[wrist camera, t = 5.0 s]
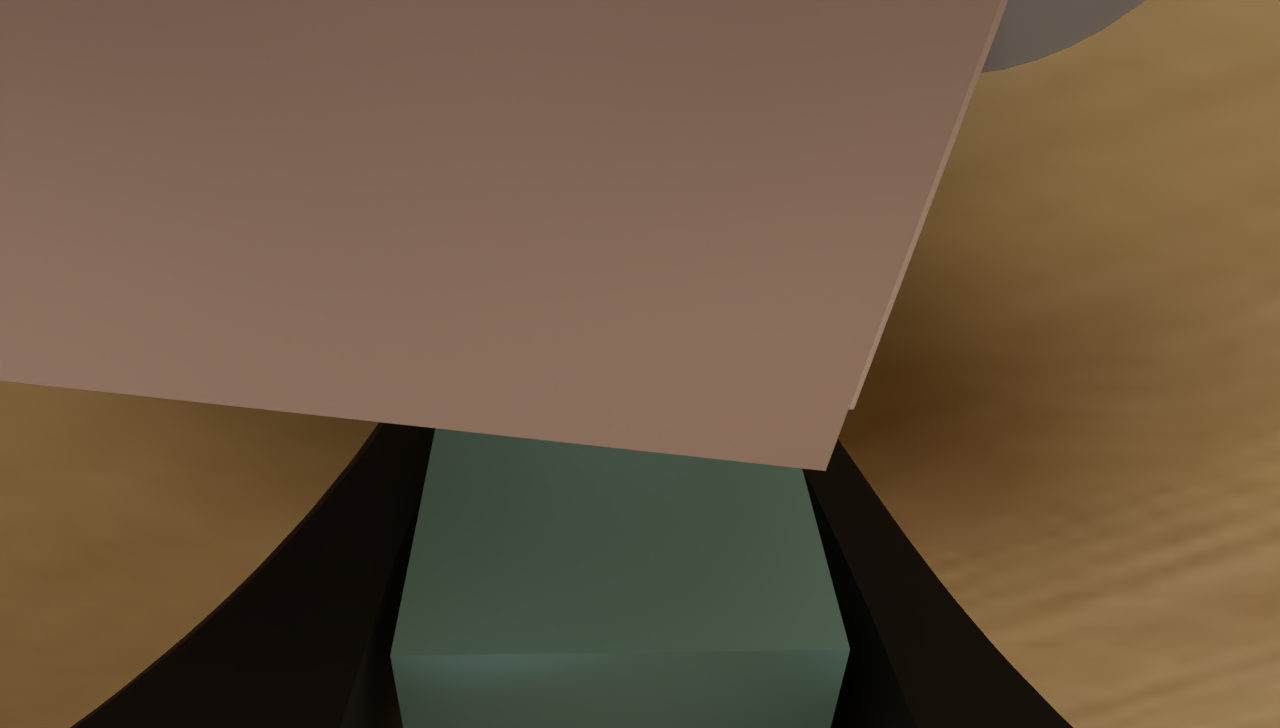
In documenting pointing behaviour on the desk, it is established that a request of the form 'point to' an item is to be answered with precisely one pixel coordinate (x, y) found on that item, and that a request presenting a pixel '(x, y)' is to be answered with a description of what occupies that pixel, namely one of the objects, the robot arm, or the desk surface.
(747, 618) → the teal toy mallet
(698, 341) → the cabinet
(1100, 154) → the desk surface
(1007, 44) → the disc
